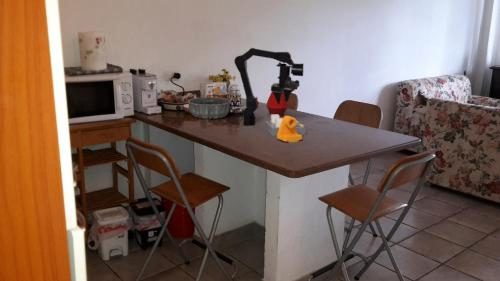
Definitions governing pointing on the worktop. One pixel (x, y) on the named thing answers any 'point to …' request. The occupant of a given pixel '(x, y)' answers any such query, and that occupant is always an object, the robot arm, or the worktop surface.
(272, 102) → the bottle
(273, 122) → the tab
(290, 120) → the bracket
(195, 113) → the bundt pan
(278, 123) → the tab
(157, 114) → the worktop surface
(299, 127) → the switch bank
